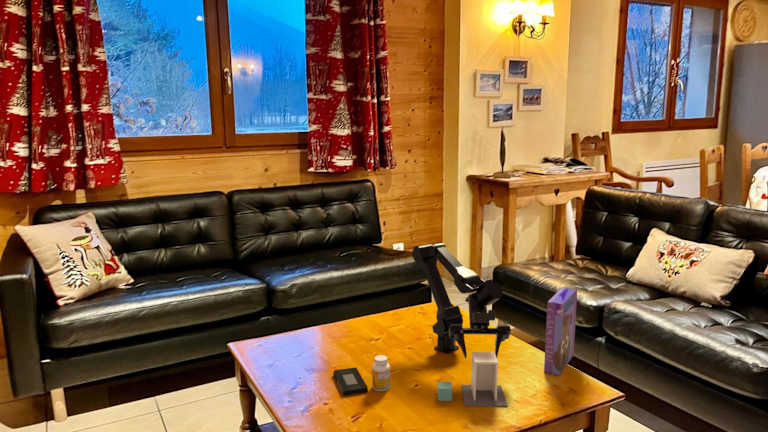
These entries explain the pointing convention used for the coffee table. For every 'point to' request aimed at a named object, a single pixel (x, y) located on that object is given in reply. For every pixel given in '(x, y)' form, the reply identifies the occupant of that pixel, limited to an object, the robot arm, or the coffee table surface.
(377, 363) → the supplement bottle
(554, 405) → the coffee table surface
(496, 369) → the white boxy piece
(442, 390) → the teal cube
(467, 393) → the mat
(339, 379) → the vhs tape
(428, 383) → the coffee table surface
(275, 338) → the coffee table surface
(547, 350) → the cereal box
